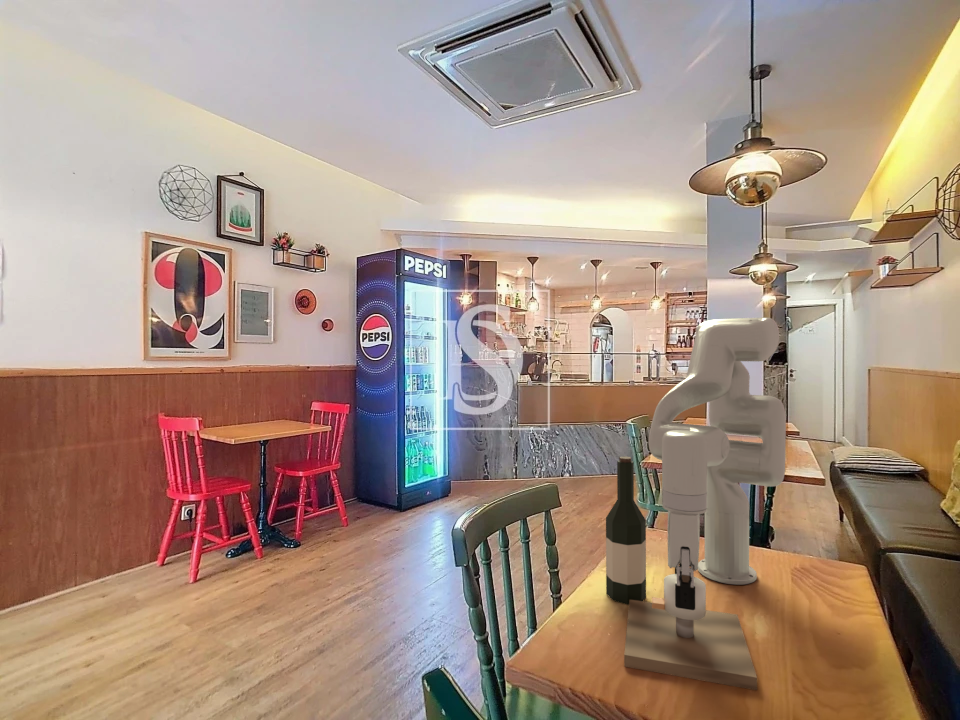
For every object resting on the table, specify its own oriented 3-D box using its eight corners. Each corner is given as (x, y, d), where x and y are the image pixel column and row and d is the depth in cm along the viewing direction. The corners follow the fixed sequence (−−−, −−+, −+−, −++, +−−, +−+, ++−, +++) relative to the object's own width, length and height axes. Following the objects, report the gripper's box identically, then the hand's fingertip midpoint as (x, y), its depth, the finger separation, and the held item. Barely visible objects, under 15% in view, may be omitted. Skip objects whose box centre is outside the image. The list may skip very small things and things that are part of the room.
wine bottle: (648, 606, 107) (647, 462, 106) (607, 602, 109) (606, 461, 108) (643, 587, 115) (643, 454, 115) (605, 584, 117) (604, 453, 116)
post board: (629, 609, 106) (629, 580, 106) (737, 624, 100) (737, 594, 100) (624, 666, 87) (624, 631, 87) (757, 690, 81) (757, 652, 81)
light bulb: (651, 596, 98) (651, 570, 98) (703, 603, 95) (703, 576, 95) (651, 614, 92) (651, 586, 92) (707, 622, 89) (707, 593, 89)
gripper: (662, 486, 102) (663, 574, 103) (661, 512, 86) (661, 618, 86) (704, 489, 100) (704, 580, 100) (710, 517, 83) (710, 626, 84)
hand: (684, 597), depth 93 cm, fingers closed on light bulb, 7 cm apart
